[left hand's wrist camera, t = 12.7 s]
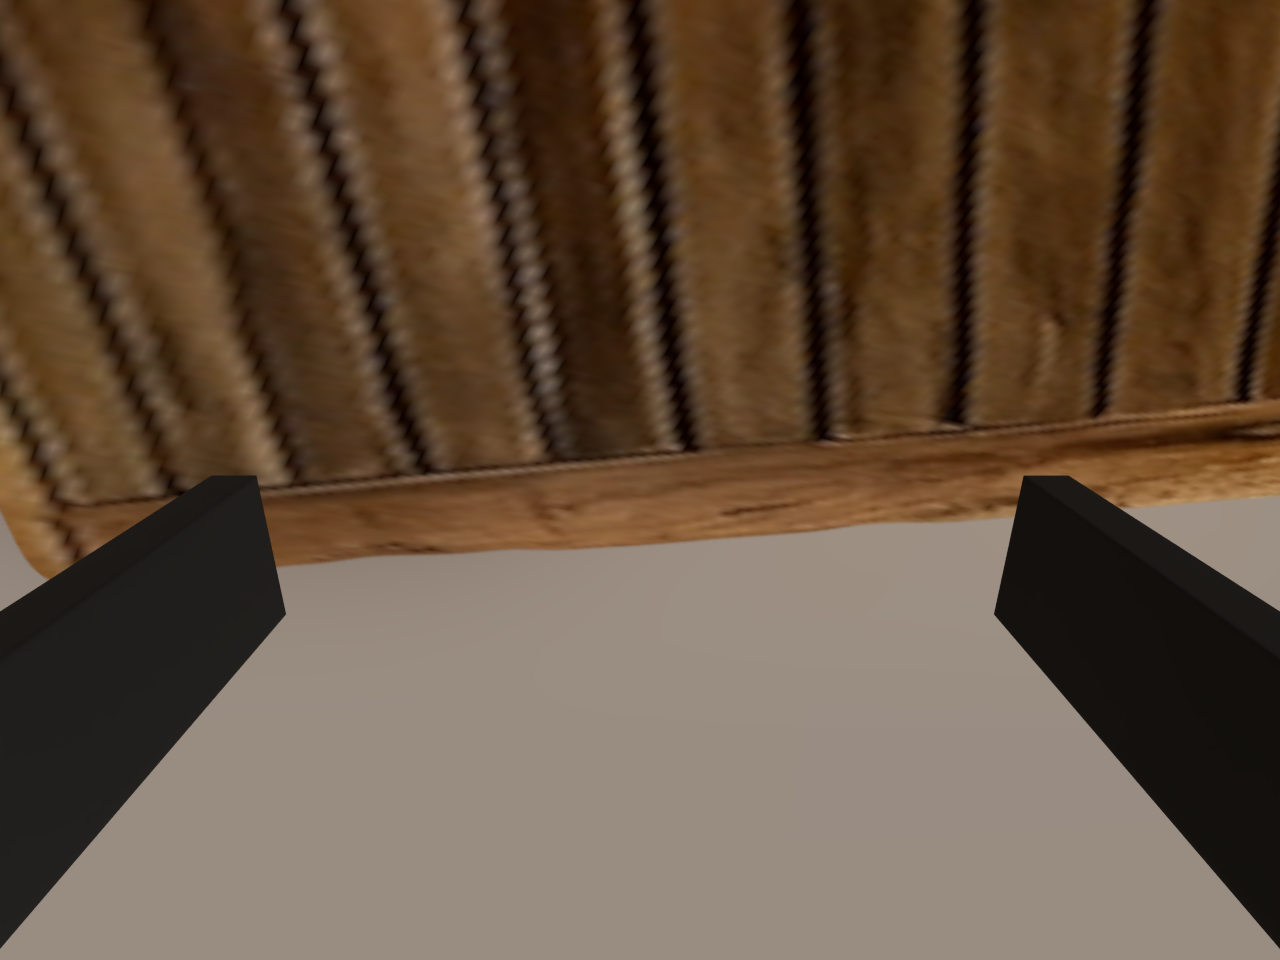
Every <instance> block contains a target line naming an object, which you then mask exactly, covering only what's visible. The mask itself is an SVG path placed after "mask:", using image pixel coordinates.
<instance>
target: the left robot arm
mask: <svg viewBox="0 0 1280 960" xmlns="http://www.w3.org/2000/svg"><path fill="white" fill-rule="evenodd" d="M285 615H286V612H285V607H284V603H283V598H282V593H281V589H280V584H279V579H278V575H277V570H276V565H275V561H274V556H273V551H272V547H271V542H270V537H269V533H268V528H267V523H266V519H265V514H264V509H263V505H262V500H261V495H260V491H259V486H258V481H257V477H256V476H210V477H209V478H207V479H206V480H204V481H202V482H201V483H199V484H198V485H196V486H195V487H193V488H192V489H190V490H188V491H187V492H185V493H184V494H182V495H181V496H179V497H178V498H176V499H174V500H173V501H171V502H170V503H168V504H167V505H165V506H164V507H162V508H160V509H159V510H157V511H156V512H154V513H153V514H151V515H150V516H148V517H146V518H145V519H143V520H142V521H140V522H139V523H137V524H136V525H134V526H132V527H131V528H129V529H128V530H126V531H125V532H123V533H122V534H120V535H118V536H117V537H115V538H114V539H112V540H111V541H109V542H108V543H106V544H104V545H103V546H101V547H100V548H98V549H97V550H95V551H94V552H92V553H90V554H89V555H87V556H86V557H84V558H83V559H81V560H80V561H78V562H76V563H75V564H73V565H72V566H70V567H69V568H67V569H66V570H64V571H62V572H61V573H59V574H58V575H56V576H55V577H53V578H52V579H50V580H48V581H47V582H45V583H44V584H42V585H41V586H39V587H38V588H36V589H35V590H33V591H31V592H30V593H28V594H27V595H25V596H24V597H22V598H20V599H19V600H17V601H16V602H14V603H13V604H11V605H10V606H8V607H6V608H5V609H3V610H2V611H0V948H1V947H2V946H3V945H4V944H5V942H6V941H7V940H8V939H9V938H10V936H11V935H12V934H13V933H14V932H15V931H16V930H17V928H18V927H19V926H20V925H21V924H22V923H23V921H24V920H25V919H26V918H27V917H28V915H29V914H30V913H31V912H32V911H33V910H34V908H35V907H36V906H37V905H38V904H39V903H40V901H41V900H42V899H43V898H44V897H45V896H46V894H47V893H48V892H49V891H50V890H51V888H52V887H53V886H54V885H55V884H56V883H57V882H58V880H59V879H60V878H61V877H62V876H63V875H64V873H65V872H66V871H67V870H68V869H69V867H70V866H71V865H72V864H73V863H74V862H75V861H76V859H77V858H78V857H79V856H80V855H81V853H82V852H83V851H84V850H85V849H86V848H87V846H88V845H89V844H90V843H91V842H92V841H93V839H94V838H95V837H96V836H97V835H98V834H99V832H100V831H101V830H102V829H103V828H104V827H105V825H106V824H107V823H108V822H109V821H110V819H111V818H112V817H113V816H114V815H115V814H116V812H117V811H118V810H119V809H120V808H121V807H122V806H123V804H124V803H125V802H126V801H127V800H128V798H129V797H130V796H131V795H132V794H133V793H134V791H135V790H136V789H137V788H138V787H139V786H140V784H141V783H142V782H143V781H144V780H145V779H146V777H147V776H148V775H149V774H150V773H151V772H152V770H153V769H154V768H155V767H156V766H157V765H158V763H159V762H160V761H161V760H162V759H163V758H164V756H165V755H166V754H167V753H168V752H169V751H170V749H171V748H172V747H173V746H174V745H175V743H176V742H177V741H178V740H179V739H180V738H181V737H182V735H183V734H184V733H185V732H186V731H187V729H188V728H189V727H190V726H191V725H192V724H193V722H194V721H195V720H196V719H197V718H198V717H199V715H200V714H201V713H202V712H203V711H204V710H205V708H206V707H207V706H208V705H209V704H210V703H211V701H212V700H213V699H214V698H215V697H216V696H217V694H218V693H219V692H220V691H221V690H222V689H223V687H224V686H225V685H226V684H227V683H228V681H229V680H230V679H231V678H232V677H233V676H234V675H235V673H236V672H237V671H238V670H239V669H240V667H241V666H242V665H243V664H244V663H245V662H246V660H247V659H248V658H249V657H250V656H251V655H252V653H253V652H254V651H255V650H256V649H257V648H258V646H259V645H260V644H261V643H262V642H263V641H264V639H265V638H266V637H267V636H268V635H269V634H270V632H271V631H272V630H273V629H274V628H275V627H276V625H277V624H278V623H279V622H280V621H281V619H282V618H283V617H284V616H285ZM994 615H995V616H996V617H997V618H998V620H999V621H1000V622H1001V623H1002V624H1003V625H1004V626H1005V628H1006V629H1007V630H1008V631H1009V632H1010V634H1011V635H1012V636H1013V637H1014V638H1015V639H1016V641H1017V642H1018V643H1019V644H1020V645H1021V646H1022V648H1023V649H1024V650H1025V651H1026V652H1027V653H1028V655H1029V656H1030V657H1031V658H1032V659H1033V660H1034V662H1035V663H1036V664H1037V665H1038V666H1039V667H1040V669H1041V670H1042V671H1043V672H1044V673H1045V675H1046V676H1047V677H1048V678H1049V679H1050V680H1051V682H1052V683H1053V684H1054V685H1055V686H1056V687H1057V688H1058V690H1059V691H1060V692H1061V693H1062V694H1063V696H1064V697H1065V698H1066V699H1067V700H1068V701H1069V703H1070V704H1071V705H1072V706H1073V707H1074V708H1075V710H1076V711H1077V712H1078V713H1079V714H1080V715H1081V717H1082V718H1083V719H1084V720H1085V721H1086V722H1087V724H1088V725H1089V726H1090V727H1091V728H1092V730H1093V731H1094V732H1095V733H1096V734H1097V735H1098V737H1099V738H1100V739H1101V740H1102V741H1103V742H1104V744H1105V745H1106V746H1107V747H1108V748H1109V749H1110V751H1111V752H1112V753H1113V754H1114V755H1115V756H1116V758H1117V759H1118V760H1119V761H1120V762H1121V763H1122V765H1123V766H1124V767H1125V768H1126V769H1127V770H1128V772H1129V773H1130V774H1131V775H1132V776H1133V777H1134V779H1135V780H1136V781H1137V782H1138V783H1139V784H1140V786H1141V787H1142V788H1143V789H1144V790H1145V791H1146V793H1147V794H1148V795H1149V796H1150V797H1151V799H1152V800H1153V801H1154V802H1155V803H1156V804H1157V806H1158V807H1159V808H1160V809H1161V810H1162V811H1163V813H1164V814H1165V815H1166V816H1167V817H1168V818H1169V820H1170V821H1171V822H1172V823H1173V824H1174V825H1175V826H1176V828H1177V829H1178V830H1179V831H1180V832H1181V834H1182V835H1183V836H1184V837H1185V838H1186V839H1187V841H1188V842H1189V843H1190V844H1191V845H1192V846H1193V848H1194V849H1195V850H1196V851H1197V852H1198V854H1199V855H1200V856H1201V857H1202V858H1203V859H1204V860H1205V862H1206V863H1207V864H1208V865H1209V866H1210V868H1211V869H1212V870H1213V871H1214V872H1215V873H1216V875H1217V876H1218V877H1219V878H1220V879H1221V880H1222V882H1223V883H1224V884H1225V885H1226V886H1227V887H1228V889H1229V890H1230V891H1231V892H1232V893H1233V894H1234V896H1235V897H1236V898H1237V899H1238V900H1239V901H1240V903H1241V904H1242V905H1243V906H1244V907H1245V908H1246V910H1247V911H1248V912H1249V913H1250V914H1251V915H1252V917H1253V918H1254V919H1255V920H1256V921H1257V923H1258V924H1259V925H1260V926H1261V927H1262V928H1263V930H1264V931H1265V932H1266V933H1267V934H1268V935H1269V936H1270V938H1271V939H1272V940H1273V941H1274V942H1275V944H1276V945H1277V946H1278V947H1279V948H1280V611H1278V610H1277V609H1275V608H1274V607H1272V606H1270V605H1269V604H1267V603H1266V602H1264V601H1263V600H1261V599H1260V598H1258V597H1256V596H1255V595H1253V594H1252V593H1250V592H1249V591H1247V590H1246V589H1244V588H1242V587H1241V586H1239V585H1238V584H1236V583H1235V582H1233V581H1232V580H1230V579H1228V578H1227V577H1225V576H1224V575H1222V574H1221V573H1219V572H1218V571H1216V570H1214V569H1213V568H1211V567H1210V566H1208V565H1207V564H1205V563H1204V562H1202V561H1200V560H1199V559H1197V558H1196V557H1194V556H1193V555H1191V554H1190V553H1188V552H1186V551H1185V550H1183V549H1182V548H1180V547H1179V546H1177V545H1176V544H1174V543H1172V542H1171V541H1169V540H1168V539H1166V538H1165V537H1163V536H1162V535H1160V534H1158V533H1157V532H1155V531H1154V530H1152V529H1151V528H1149V527H1148V526H1146V525H1144V524H1143V523H1141V522H1140V521H1138V520H1137V519H1135V518H1134V517H1132V516H1130V515H1129V514H1127V513H1126V512H1124V511H1123V510H1121V509H1120V508H1118V507H1116V506H1115V505H1113V504H1112V503H1110V502H1109V501H1107V500H1106V499H1104V498H1102V497H1101V496H1099V495H1098V494H1096V493H1095V492H1093V491H1092V490H1090V489H1088V488H1087V487H1085V486H1084V485H1082V484H1081V483H1079V482H1078V481H1076V480H1074V479H1073V478H1071V477H1070V476H1024V477H1023V481H1022V486H1021V491H1020V495H1019V500H1018V505H1017V509H1016V514H1015V519H1014V523H1013V528H1012V533H1011V538H1010V542H1009V547H1008V551H1007V556H1006V561H1005V565H1004V570H1003V575H1002V579H1001V584H1000V589H999V593H998V598H997V603H996V607H995V612H994Z"/></svg>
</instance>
